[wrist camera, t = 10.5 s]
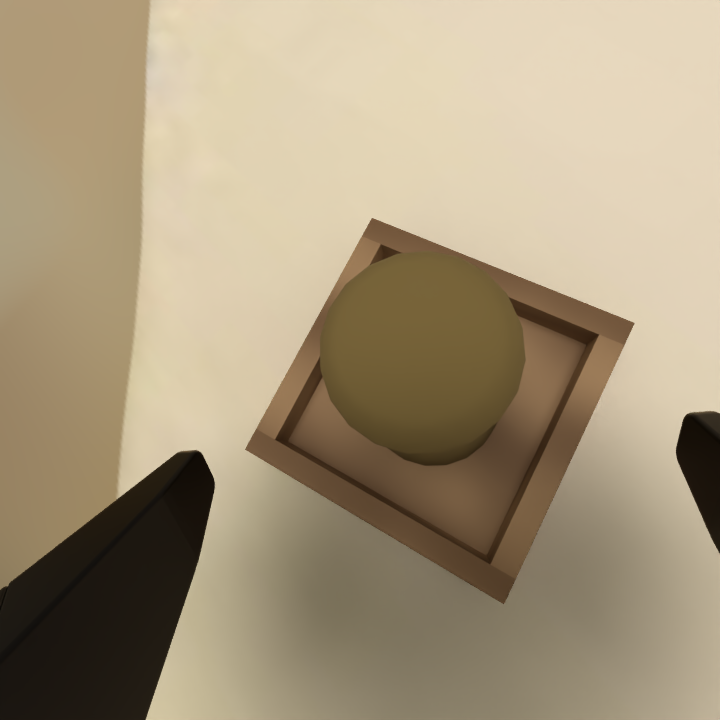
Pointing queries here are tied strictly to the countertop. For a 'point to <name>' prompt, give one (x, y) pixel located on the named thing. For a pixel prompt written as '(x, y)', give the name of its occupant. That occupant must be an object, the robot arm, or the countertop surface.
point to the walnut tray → (482, 468)
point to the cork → (423, 355)
